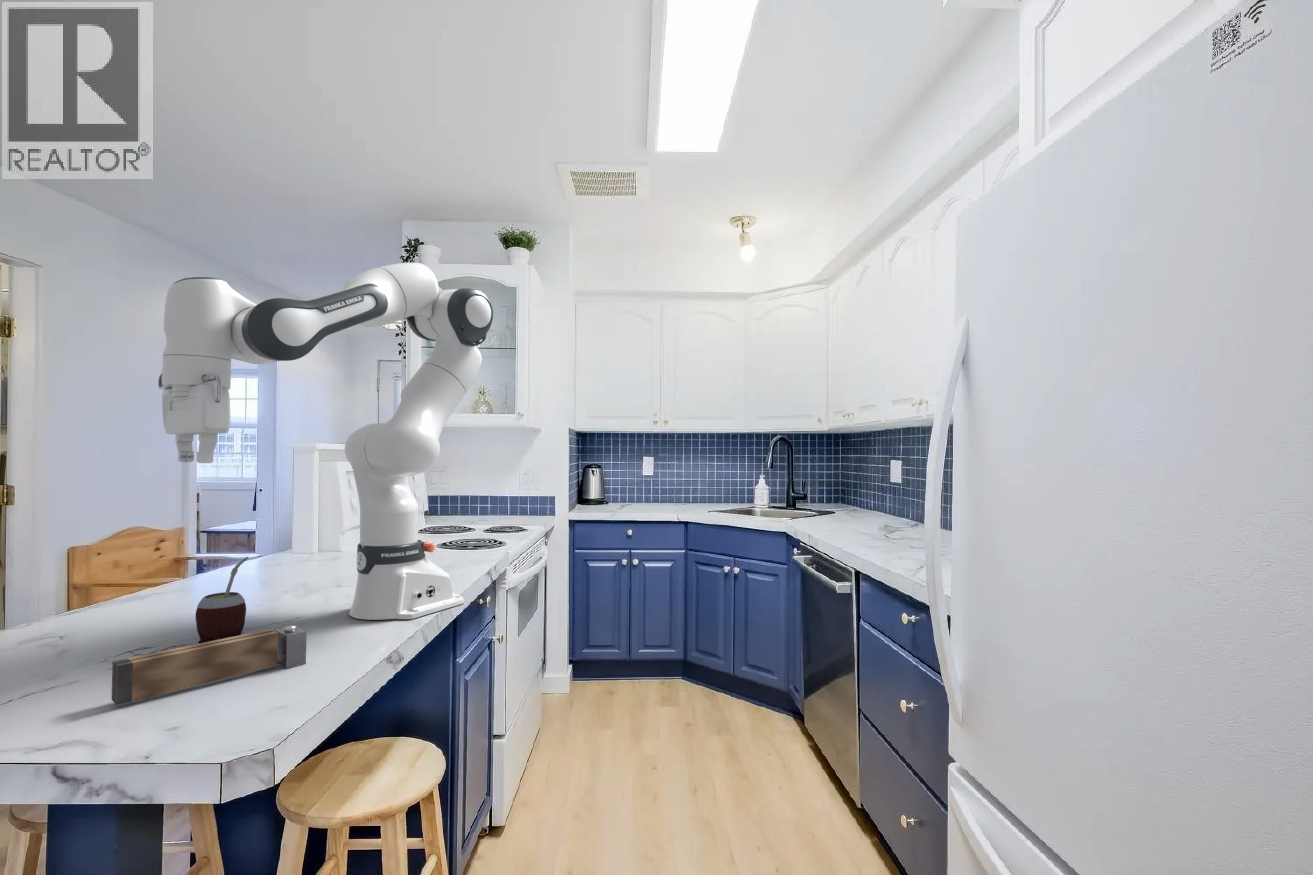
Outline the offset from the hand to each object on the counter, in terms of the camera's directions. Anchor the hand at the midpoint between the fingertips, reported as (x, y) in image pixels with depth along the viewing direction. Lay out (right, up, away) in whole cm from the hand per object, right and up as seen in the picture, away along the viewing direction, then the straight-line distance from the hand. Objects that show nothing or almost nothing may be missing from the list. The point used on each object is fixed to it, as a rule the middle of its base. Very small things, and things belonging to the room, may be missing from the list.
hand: (195, 462), depth 97 cm
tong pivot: (+17, -31, -3) cm, 36 cm away
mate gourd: (-1, -32, +7) cm, 32 cm away
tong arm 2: (+11, -30, -12) cm, 35 cm away
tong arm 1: (+9, -30, -11) cm, 34 cm away
